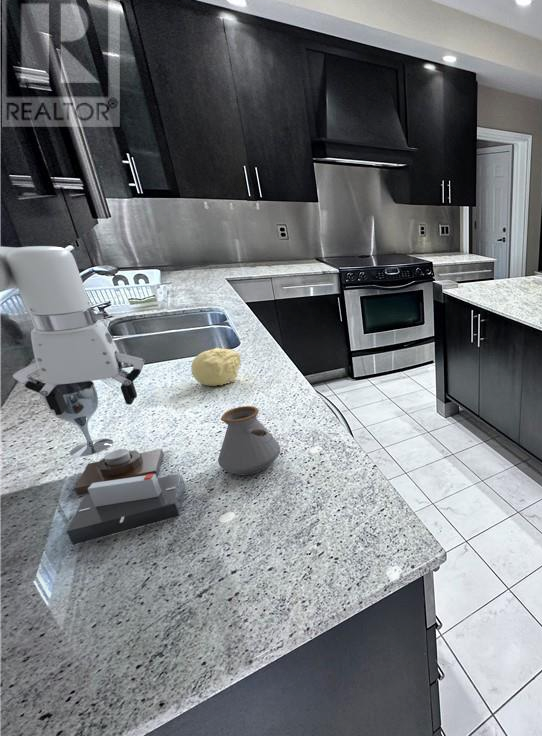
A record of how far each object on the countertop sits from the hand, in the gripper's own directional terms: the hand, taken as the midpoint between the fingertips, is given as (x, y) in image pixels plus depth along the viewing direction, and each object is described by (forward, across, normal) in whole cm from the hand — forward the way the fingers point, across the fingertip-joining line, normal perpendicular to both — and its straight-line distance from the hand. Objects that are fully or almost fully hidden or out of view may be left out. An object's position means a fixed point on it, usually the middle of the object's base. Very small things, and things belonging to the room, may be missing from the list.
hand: (97, 406), depth 77 cm
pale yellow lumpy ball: (+16, -14, -45) cm, 50 cm away
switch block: (+16, 0, -1) cm, 16 cm away
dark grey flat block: (+16, -4, +14) cm, 22 cm away
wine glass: (+16, +8, -16) cm, 24 cm away
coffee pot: (+16, -24, +12) cm, 31 cm away
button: (+13, 0, -1) cm, 13 cm away
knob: (+13, -4, +14) cm, 20 cm away
